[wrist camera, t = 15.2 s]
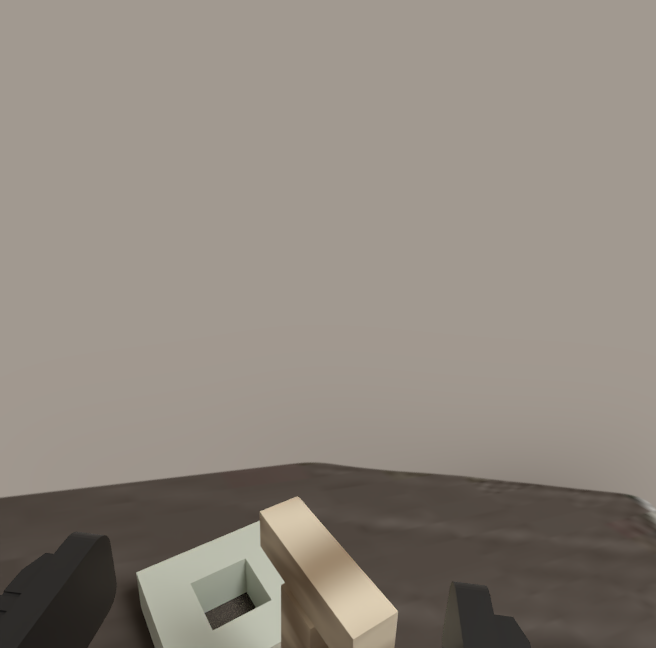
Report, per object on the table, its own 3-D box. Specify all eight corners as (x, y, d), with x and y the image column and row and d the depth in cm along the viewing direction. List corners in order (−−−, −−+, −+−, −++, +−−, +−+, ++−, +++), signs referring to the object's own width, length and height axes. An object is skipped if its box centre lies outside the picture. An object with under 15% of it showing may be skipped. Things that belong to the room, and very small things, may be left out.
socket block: (140, 607, 43) (136, 572, 42) (263, 551, 49) (263, 519, 48) (185, 737, 34) (181, 698, 32) (330, 648, 40) (331, 611, 39)
